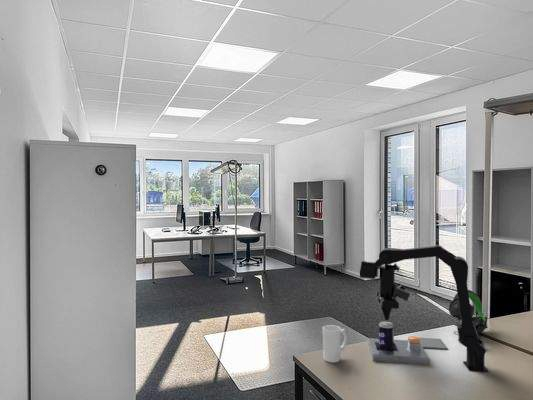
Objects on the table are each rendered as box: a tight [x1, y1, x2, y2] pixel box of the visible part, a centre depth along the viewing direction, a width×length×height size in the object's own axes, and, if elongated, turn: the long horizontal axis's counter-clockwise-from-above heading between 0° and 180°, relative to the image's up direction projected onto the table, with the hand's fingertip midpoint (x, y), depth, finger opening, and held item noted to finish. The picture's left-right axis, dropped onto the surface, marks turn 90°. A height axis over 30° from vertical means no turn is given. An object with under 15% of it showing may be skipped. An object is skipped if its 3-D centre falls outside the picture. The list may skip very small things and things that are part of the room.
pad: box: [419, 337, 449, 351], centre depth 157 cm, size 10×10×1 cm
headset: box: [448, 289, 488, 343], centre depth 167 cm, size 18×14×29 cm
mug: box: [322, 324, 348, 364], centre depth 144 cm, size 10×7×12 cm, turn 109°
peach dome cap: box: [407, 335, 421, 344], centre depth 147 cm, size 4×4×3 cm
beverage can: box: [378, 320, 395, 351], centre depth 149 cm, size 6×6×12 cm
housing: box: [368, 337, 430, 365], centre depth 148 cm, size 16×20×5 cm
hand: (386, 319), depth 149 cm, fingers closed
